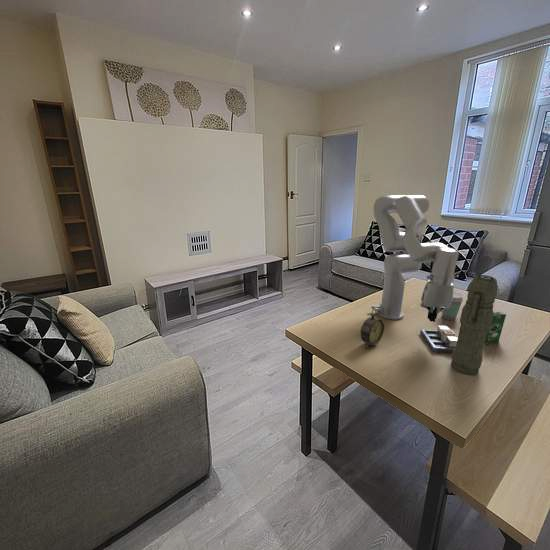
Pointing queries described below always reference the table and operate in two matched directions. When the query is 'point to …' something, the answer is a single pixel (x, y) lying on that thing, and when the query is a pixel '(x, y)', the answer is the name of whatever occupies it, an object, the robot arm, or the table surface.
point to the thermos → (474, 325)
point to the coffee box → (495, 328)
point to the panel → (439, 340)
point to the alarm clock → (372, 330)
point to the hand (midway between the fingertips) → (431, 319)
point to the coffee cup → (453, 307)
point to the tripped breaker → (447, 334)
